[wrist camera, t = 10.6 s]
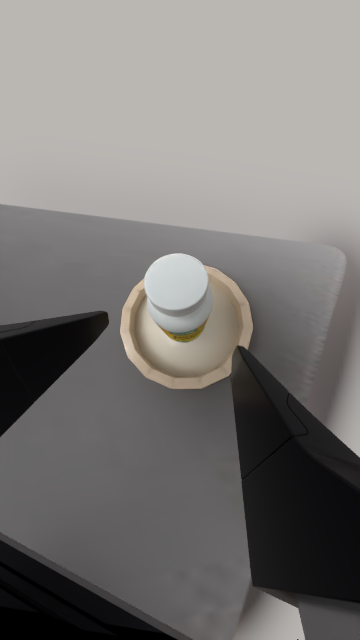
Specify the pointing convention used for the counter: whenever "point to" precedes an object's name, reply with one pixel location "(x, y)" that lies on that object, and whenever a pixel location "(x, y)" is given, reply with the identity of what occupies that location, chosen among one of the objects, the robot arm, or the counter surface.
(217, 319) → the round tray
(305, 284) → the counter surface
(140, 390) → the counter surface
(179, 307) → the supplement bottle
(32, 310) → the counter surface
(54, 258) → the counter surface
